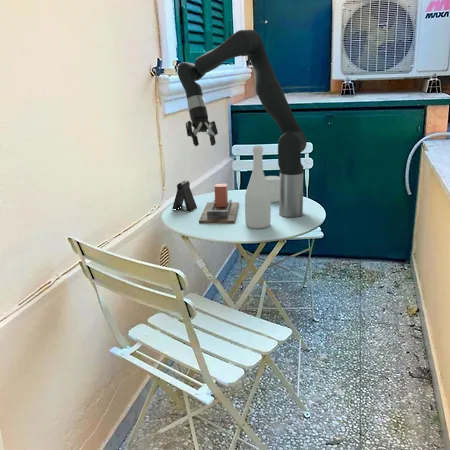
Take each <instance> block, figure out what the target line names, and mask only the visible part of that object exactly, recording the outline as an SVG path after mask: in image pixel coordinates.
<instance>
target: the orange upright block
mask: <svg viewBox="0 0 450 450" xmlns="http://www.w3.org/2000/svg"><path fill="white" fill-rule="evenodd" d="M228 188H229V187H228V183H215V185H214V200H215V207H227V205H228V202H229V196H228V195H229V193H228V192H229V190H228Z"/></svg>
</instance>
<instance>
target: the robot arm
mask: <svg viewBox="0 0 450 450" xmlns="http://www.w3.org/2000/svg"><path fill="white" fill-rule="evenodd" d="M236 57H237V58H238V57H247V58H248V60H249V61H250V63H251V66H252V67H253V71H254V85H255V86H254V87H255V92H256V94H257V95H256V96H258V99H259V100H260V103H261V105H262V107H263V108H264V110H265V111H266V112H267V113H268V115H269V116H270V117H271V118H272V119H273V120H274V122H275V123H276V125H277V126H278V128H279V130H280V133H281V136H280V137H279V139H278V142H277V164H278V168H279V177H280V192H279V201H278V202H279V203H278V205H279V206H278V210H279V211H278V215H280V216H281V217H285V218H297V217H303V210H304V207H303V206H304V165H303V164H302V162H301V161H302V159H301V158H302V156H301V155H302V153H303V152H304V151H305V150H306V148H307V138H306V135H305V133H304V132H303V129H301V126H300V125H299V124H298V122H297V120H296V118H295V116H294V114H293V111H292V109H291V107H290V105H289V103H288V100H287V98H286V96H285V93H284V91H283V89H282V87H281V84H280V82H279V81H278V78H277V76H276V74H275V72H274V69H273V67H272V64H271V63H270V60H269V58H268V55H267V52H266V49H265V45H264V43H263V40H262V38H261V35H260V34H259V33H258V32H257V31H256V30H255V29H240V30H237V31H236V32H234V33H233V34H232V35H230V36H229V37H228V38H227V39H226V40H225V41H223V42H222V43H221V44H220V45H218V46H216V47H215V48H213V49H211V50H209V51H207V52H205V53H204V54H201V55H200V56H198V57H197V58H195V61H194V63H193V62H192V63H191V62H187V61H183V62H180V63H179V65H178V67H177V76H178V79H179V81H180V83H181V85H182V87H183V89H184V91H185V96H186V100H187V108H188V112H189V117H190V120H188V121H187V122H185V128H186V135H187V137H190V138H192V142H193V145H194V147H198V146H199V145H200V143H199V139H198V136H197V135H198V133H205V134H206V135H208V136H209V141H210V142H209V143H210V146H215V145H216V143H217V142H216V137H215V136H216V135H217V136H218V134H219V132H218V128H217V124H216V122H215V120H212V121H209V115H208V109H207V105H206V101H205V97H204V95H203V93H204V92H203V90H202V89H203V88H202V86H201V84H199V83H197V81H199V80H201V79H202V78H203V77H204V76H205V75H206V74H207V73H210V72H211V71H214V70H216V69H217V68H219V67H221V65H222V64H223V63H224V62H226V61H227V60H230V59H233V58H236Z"/></svg>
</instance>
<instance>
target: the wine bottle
mask: <svg viewBox="0 0 450 450" xmlns="http://www.w3.org/2000/svg"><path fill="white" fill-rule="evenodd" d="M252 153H253V156H252V157H253V159H252V162H253V167H252V172H251V176H250V179H249V182H248V185H247V188H246V191H245V194H244V212H245V213H244V215H245V216H244V217H245V220H244V221H245V225H246V227H248V228H251V229H257V230H258V229H260V230H261V229H266V228H268V227H269V226H270V225H271V219H272V218H271V217H272V216H271V212H272V210H271V209H272V208H271V207H272V202H271V194H270V191H269V188H268V185H267V182H266V179H265V177H266V176H265V175H266V174H265V172H264V168H263V167H264V165H263V153H264V147H263V146H262V145H253V148H252Z"/></svg>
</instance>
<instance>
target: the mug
mask: <svg viewBox="0 0 450 450" xmlns="http://www.w3.org/2000/svg"><path fill="white" fill-rule="evenodd" d="M265 179H266V182H267V185H268V188H269V191H270V194H271V203H278V202H279V192H280V176H278V175H267V176H265Z"/></svg>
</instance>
